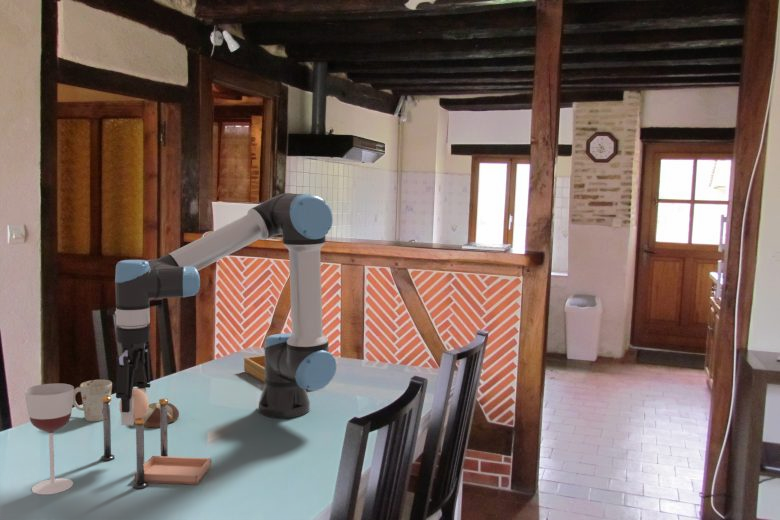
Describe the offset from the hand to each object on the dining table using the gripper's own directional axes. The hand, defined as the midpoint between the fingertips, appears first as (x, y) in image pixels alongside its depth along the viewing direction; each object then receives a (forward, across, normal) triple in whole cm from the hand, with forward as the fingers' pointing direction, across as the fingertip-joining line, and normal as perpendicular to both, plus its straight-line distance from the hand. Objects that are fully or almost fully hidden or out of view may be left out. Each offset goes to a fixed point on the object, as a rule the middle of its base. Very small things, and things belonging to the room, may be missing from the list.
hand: (134, 419), depth 168 cm
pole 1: (+10, 0, -7) cm, 12 cm away
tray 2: (+11, -73, +20) cm, 77 cm away
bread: (+11, -28, -6) cm, 30 cm away
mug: (+10, -28, -25) cm, 39 cm away
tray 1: (+10, +7, +12) cm, 17 cm away
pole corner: (+10, 0, +7) cm, 13 cm away
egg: (0, 0, 0) cm, 0 cm away
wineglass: (+10, +16, -12) cm, 22 cm away
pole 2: (+10, +14, +7) cm, 19 cm away
